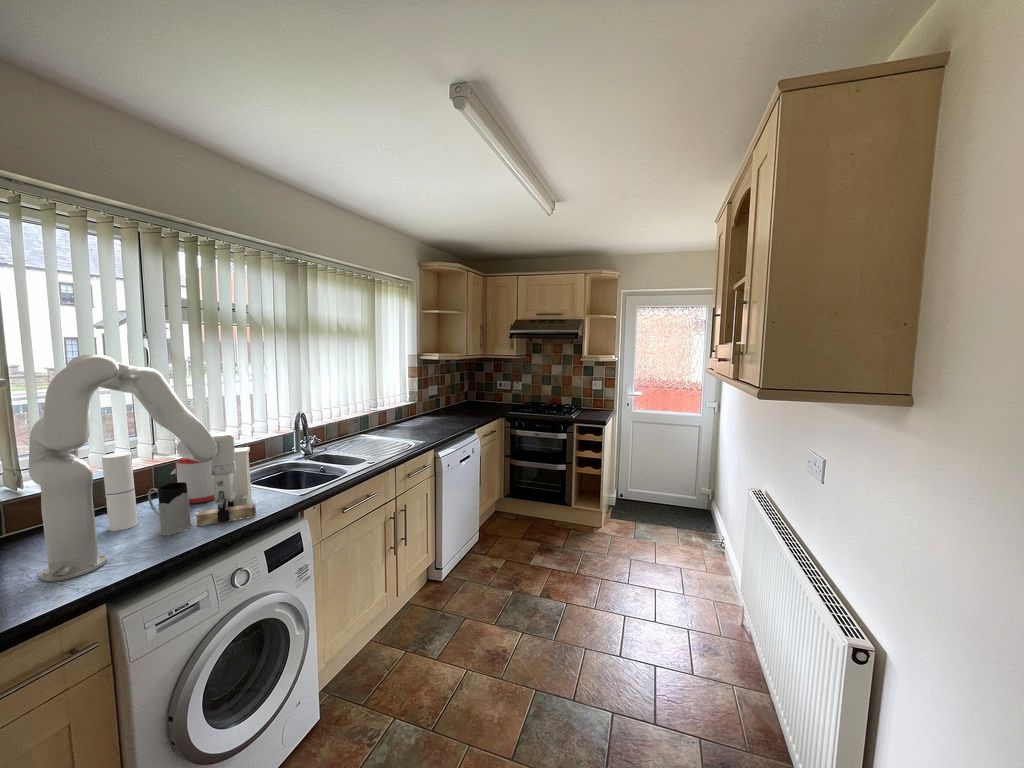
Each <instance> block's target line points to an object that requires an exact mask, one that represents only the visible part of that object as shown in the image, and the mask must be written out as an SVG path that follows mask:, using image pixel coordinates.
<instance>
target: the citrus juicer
mask: <svg viewBox="0 0 1024 768" xmlns="http://www.w3.org/2000/svg"><path fill="white" fill-rule="evenodd" d="M174 464H175V466H174V467H175V468H174V469H173V470H172V471H171V472H170V475H175V476H176V477H177V478H176V479H177V480H176V481H177V482H176V483H178V482H185V483H187V492H188V496H189V503H192V504H200V503H205V502H211V501H215V497H214V482H213V481H214V476H213V475H210V468H209V461H206V462H198V461H195V460H190V459H187V458H184V457H182V456H181V458H179V462H176V461H175V462H174Z"/></svg>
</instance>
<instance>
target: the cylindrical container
mask: <svg viewBox="0 0 1024 768" xmlns="http://www.w3.org/2000/svg"><path fill="white" fill-rule="evenodd" d="M132 461H133V460H132V452H129V451H128V452H127V451H122V452H114V453H108V454H105V455H102V456H101V463H102V464H101V465H102V470H103V471H102V472H103V480H104V481H103V482H104V492H105V499H106V501H105V502H106V511H107V520H108V530H109V531H110V532H120V531H119V530H121V531H124V529H125V530H128V528H129V529H132V528H134V527H136V526H138V513H137V512H138V511H137V501H136V500H137V499H136V490H135V489H136V488H135V481H134V480H135V479H134V471H133V462H132ZM131 527H132V528H131ZM117 530H118V531H117Z"/></svg>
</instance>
